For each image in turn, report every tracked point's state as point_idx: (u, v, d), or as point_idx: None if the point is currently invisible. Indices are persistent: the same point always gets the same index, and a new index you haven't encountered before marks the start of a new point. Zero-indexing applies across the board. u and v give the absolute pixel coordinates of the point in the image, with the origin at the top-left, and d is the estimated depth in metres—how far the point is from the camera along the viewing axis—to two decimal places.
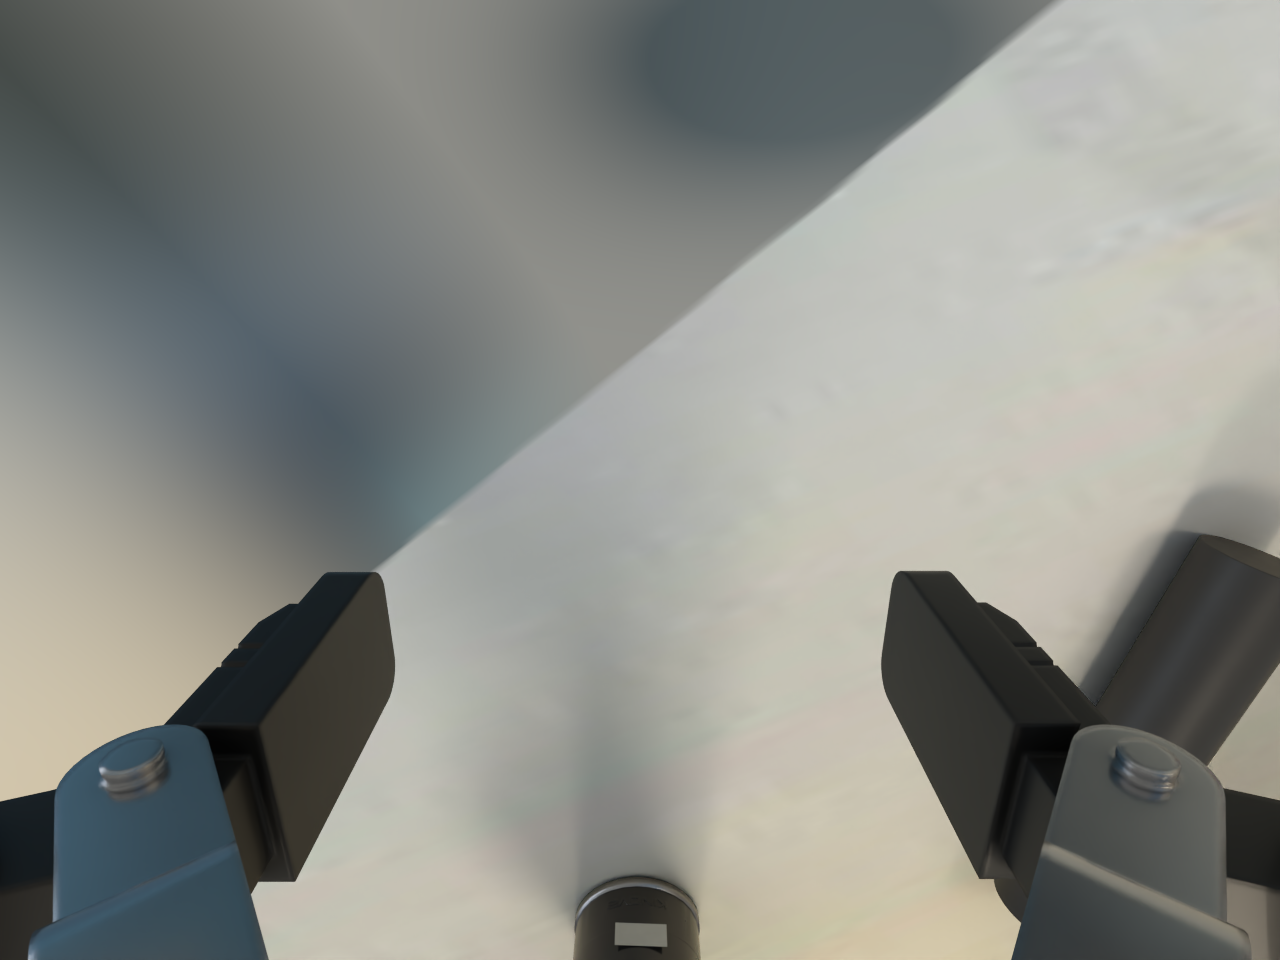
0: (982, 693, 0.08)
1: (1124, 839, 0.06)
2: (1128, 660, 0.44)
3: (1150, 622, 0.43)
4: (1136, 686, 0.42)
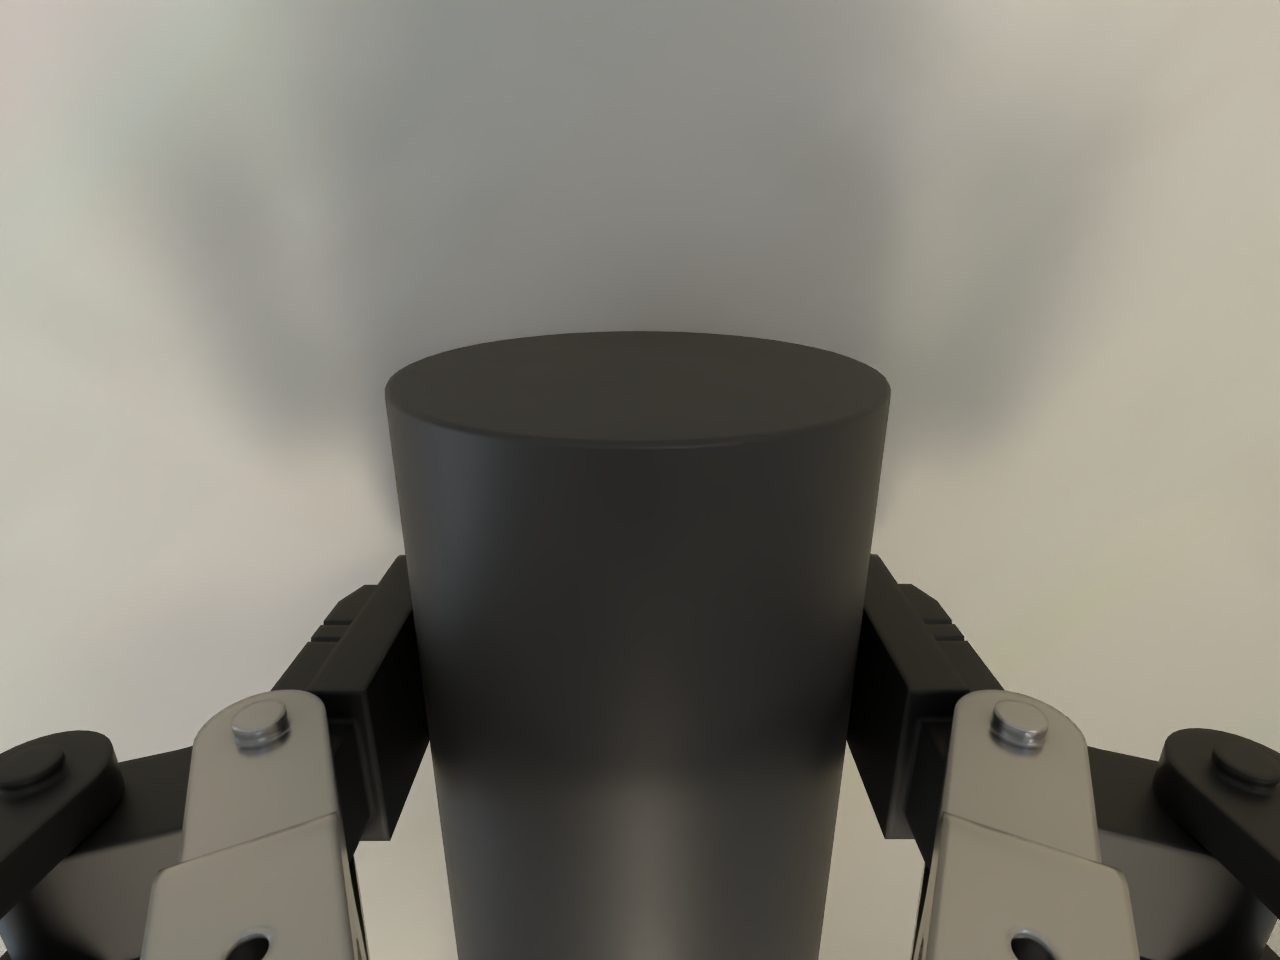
0: (887, 664, 0.09)
1: (1009, 798, 0.06)
2: None
3: None
4: None
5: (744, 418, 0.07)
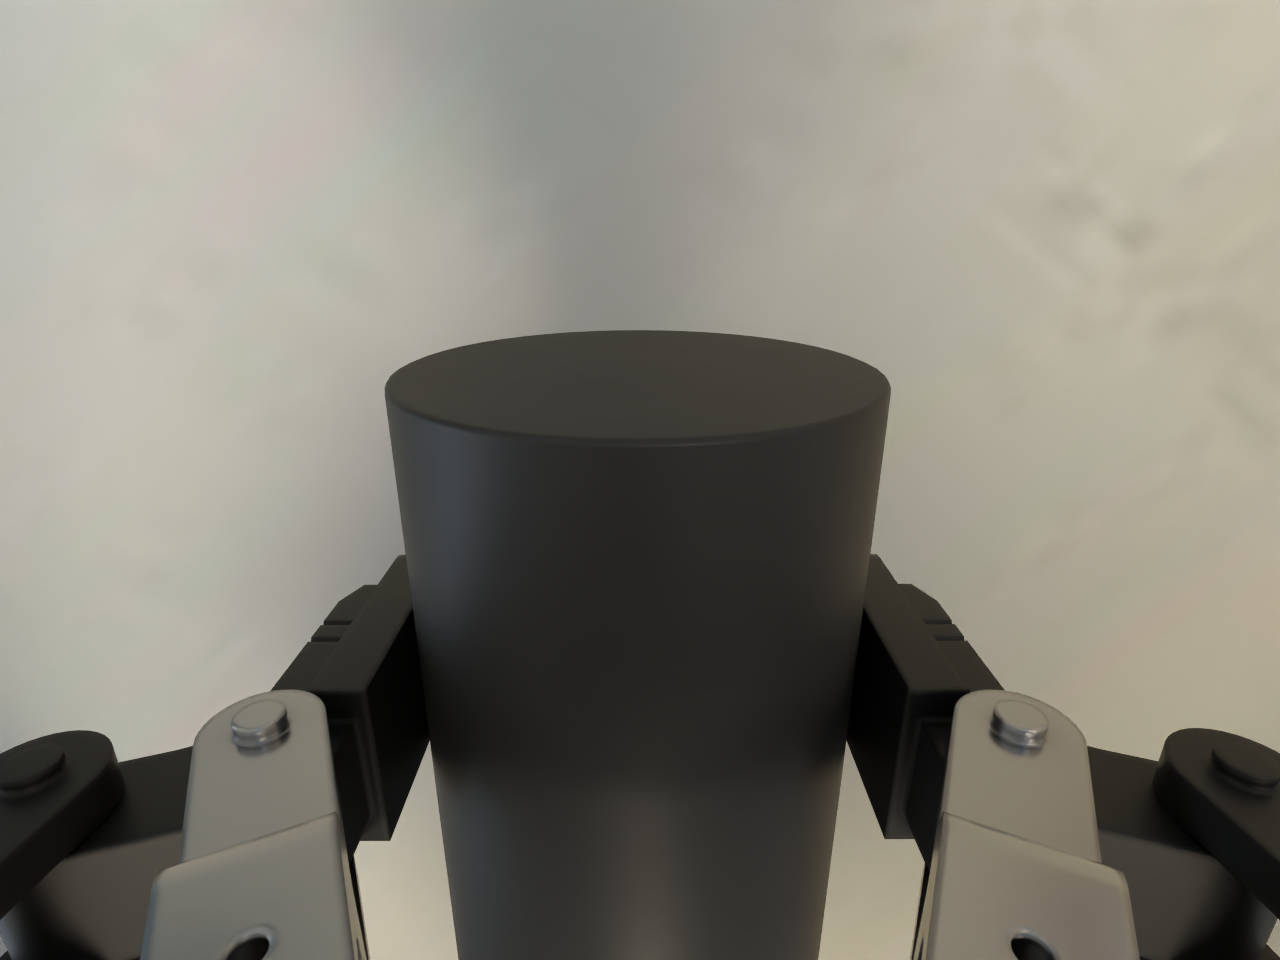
0: (887, 664, 0.09)
1: (1009, 797, 0.06)
2: None
3: None
4: None
5: (744, 415, 0.07)
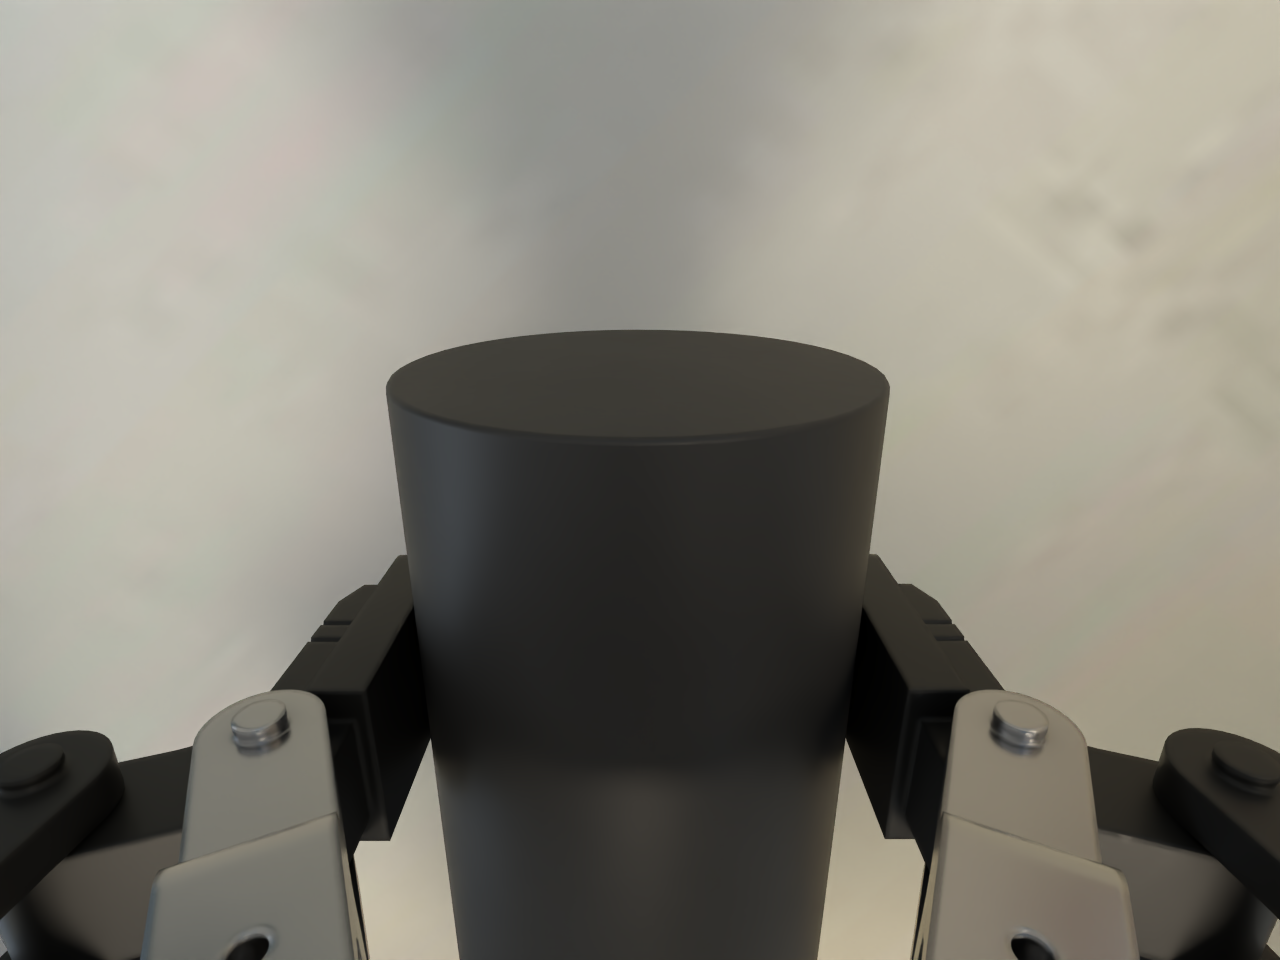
0: (887, 664, 0.09)
1: (1009, 797, 0.06)
2: None
3: None
4: None
5: (743, 414, 0.07)
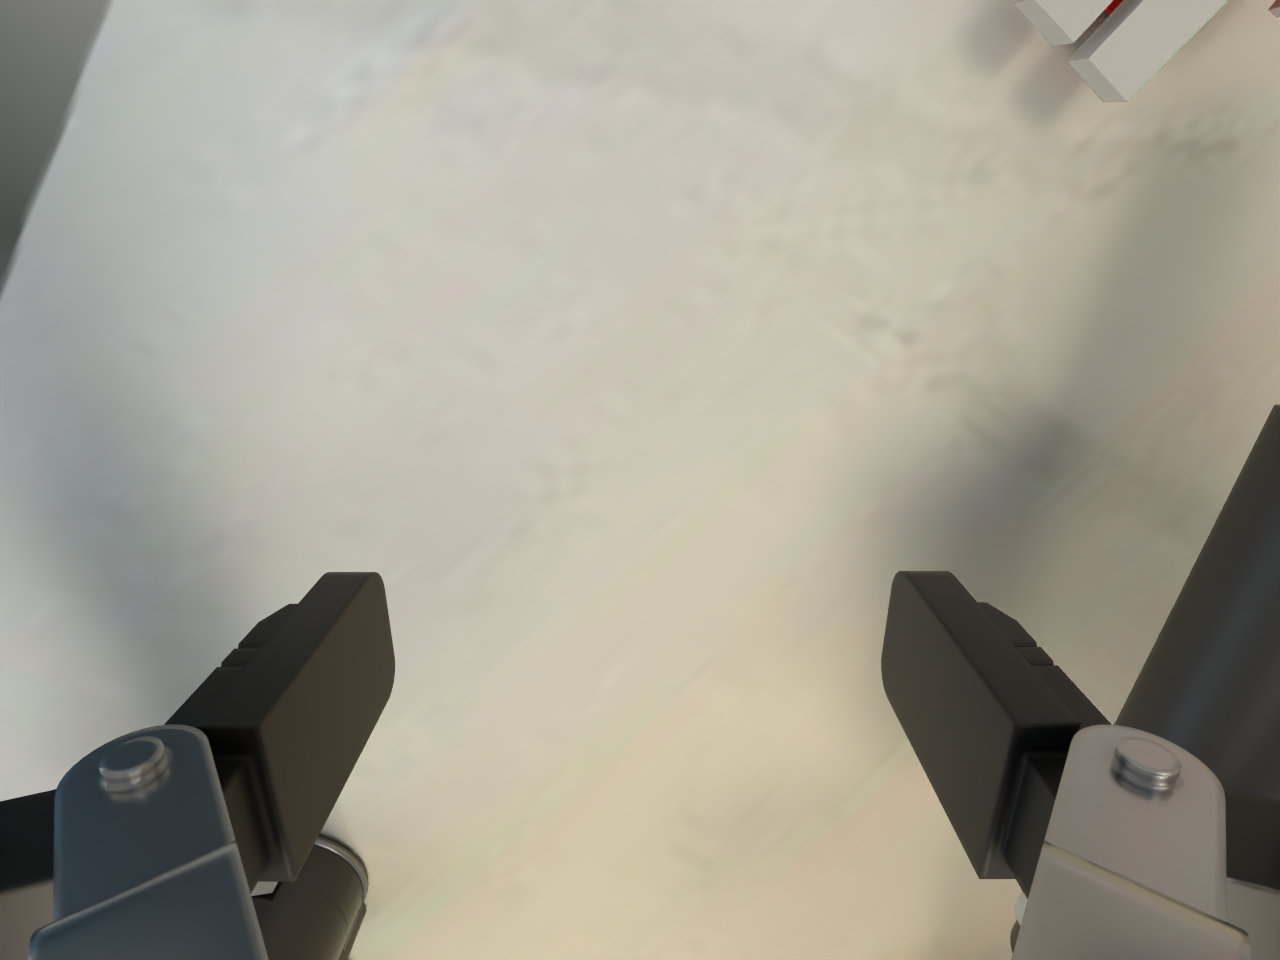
0: (982, 693, 0.08)
1: (1124, 839, 0.06)
2: (1178, 609, 0.29)
3: (1207, 547, 0.28)
4: (1194, 647, 0.27)
5: None
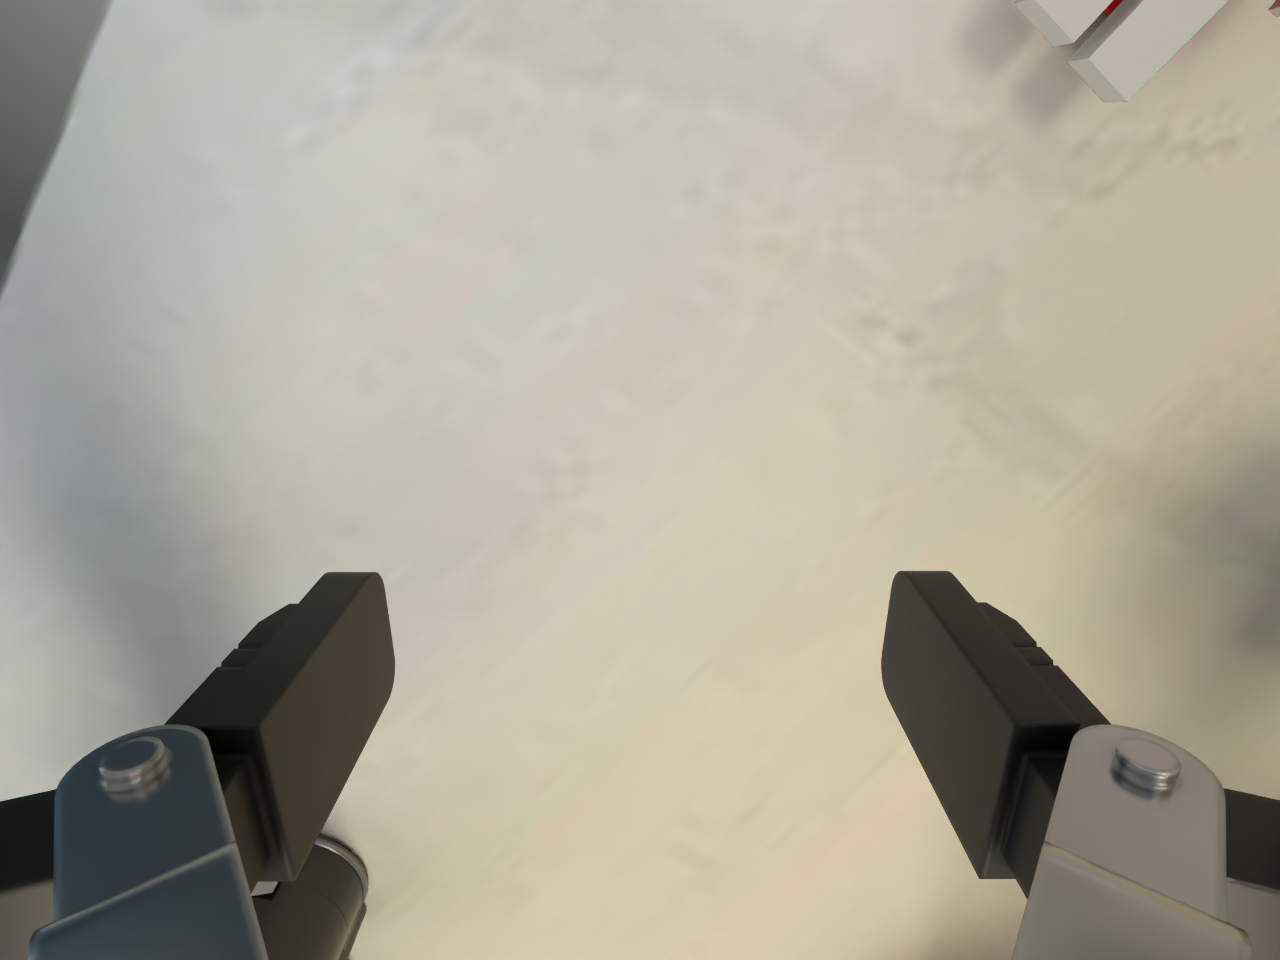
0: (982, 693, 0.08)
1: (1124, 839, 0.06)
2: None
3: None
4: None
5: None
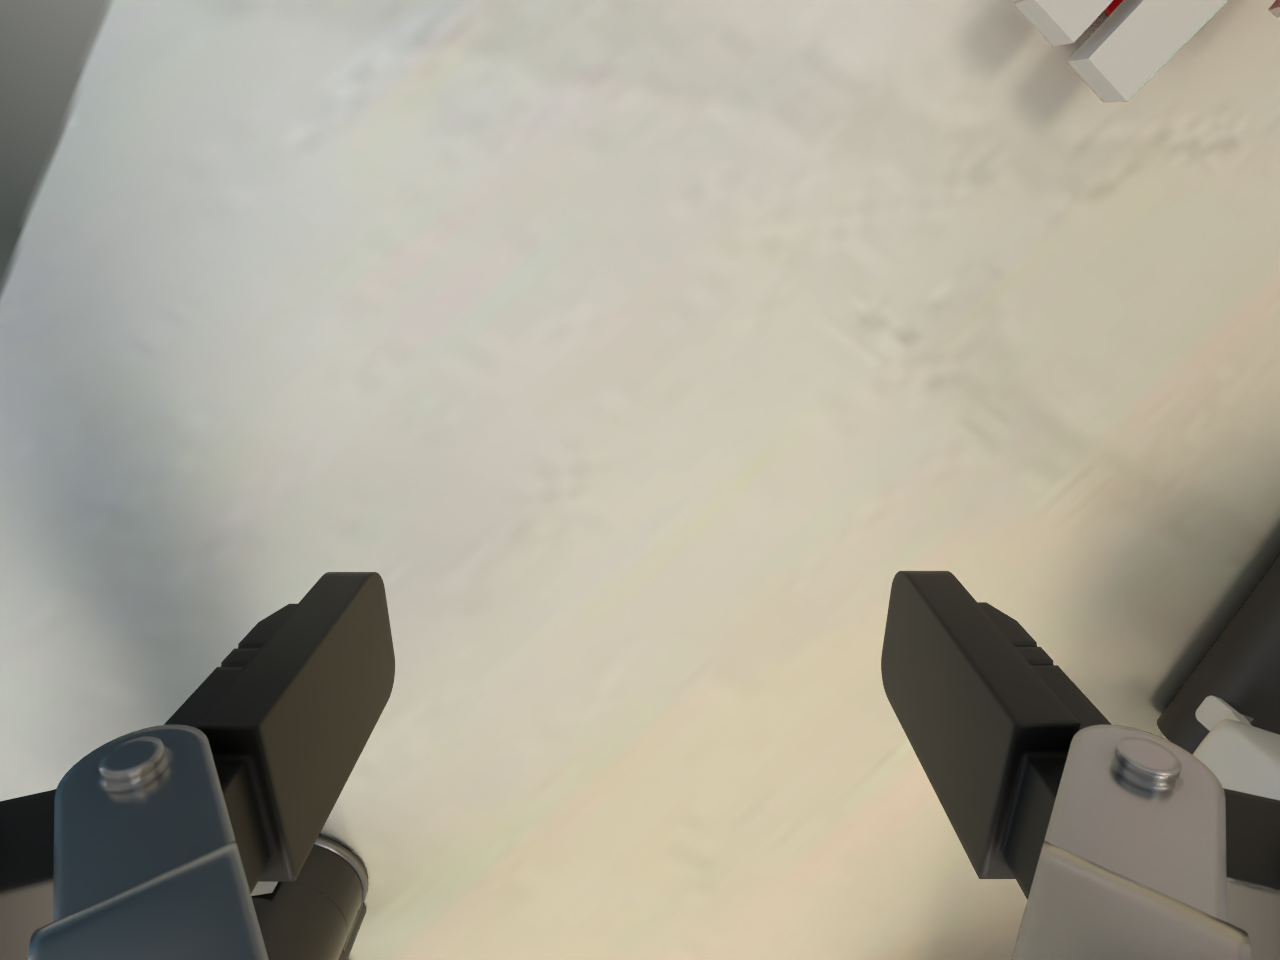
0: (982, 693, 0.08)
1: (1124, 839, 0.06)
2: None
3: None
4: None
5: None
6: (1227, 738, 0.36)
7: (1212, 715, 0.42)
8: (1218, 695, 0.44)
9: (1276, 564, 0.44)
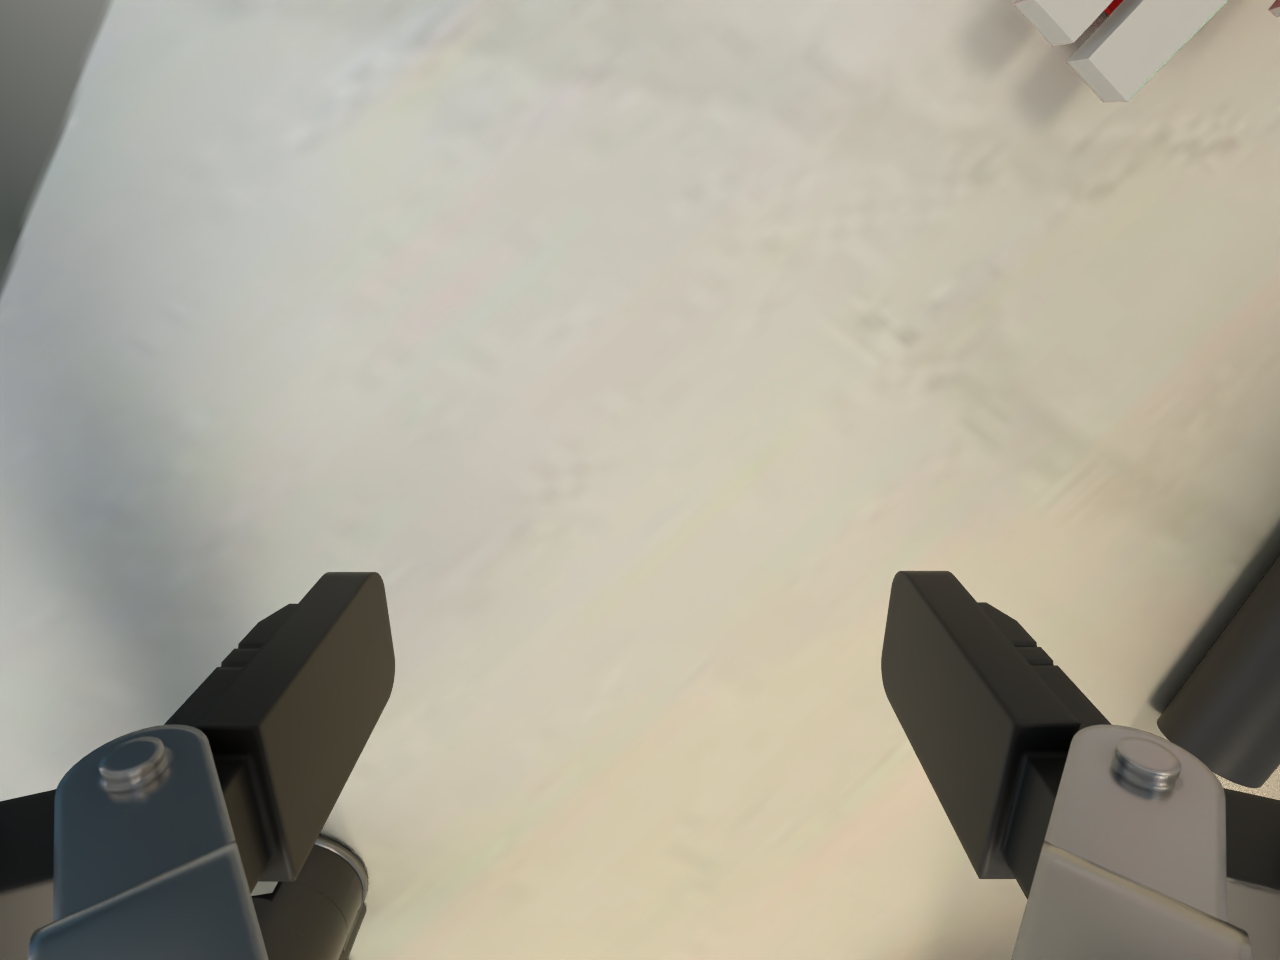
0: (982, 693, 0.08)
1: (1124, 839, 0.06)
2: None
3: None
4: None
5: None
6: None
7: None
8: (1218, 695, 0.44)
9: (1276, 564, 0.44)
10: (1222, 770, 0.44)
